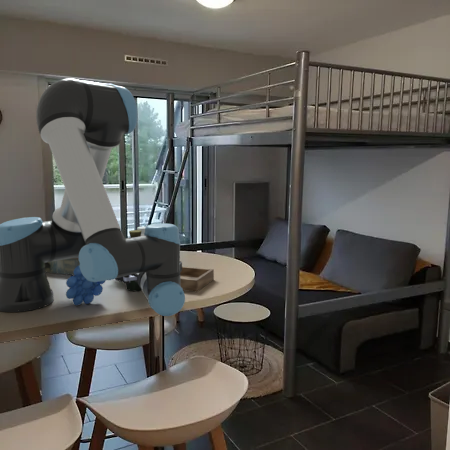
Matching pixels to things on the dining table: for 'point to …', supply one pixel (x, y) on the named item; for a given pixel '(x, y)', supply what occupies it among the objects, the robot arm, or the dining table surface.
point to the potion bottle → (133, 284)
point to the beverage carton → (62, 266)
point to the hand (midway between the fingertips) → (141, 262)
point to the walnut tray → (195, 278)
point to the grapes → (82, 288)
